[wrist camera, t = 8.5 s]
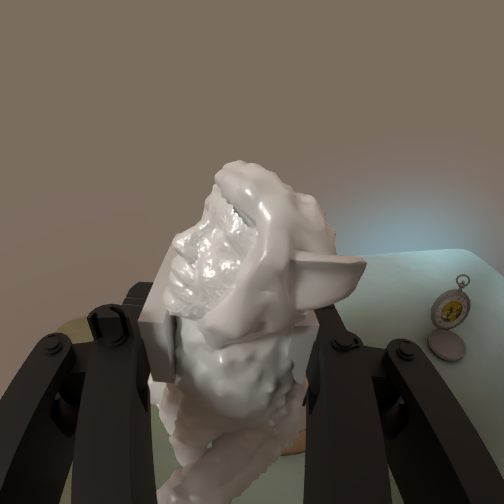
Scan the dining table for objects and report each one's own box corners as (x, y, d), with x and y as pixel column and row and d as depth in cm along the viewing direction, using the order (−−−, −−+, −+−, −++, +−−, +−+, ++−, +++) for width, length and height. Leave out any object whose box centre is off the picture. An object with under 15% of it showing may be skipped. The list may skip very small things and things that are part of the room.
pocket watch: (447, 369, 28) (481, 307, 23) (410, 333, 35) (435, 273, 31) (474, 350, 30) (504, 294, 26) (441, 320, 37) (463, 266, 33)
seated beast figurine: (120, 379, 14) (72, 157, 9) (255, 347, 17) (272, 146, 12) (168, 534, 6) (-65, 288, 1) (346, 464, 10) (481, 211, 5)
